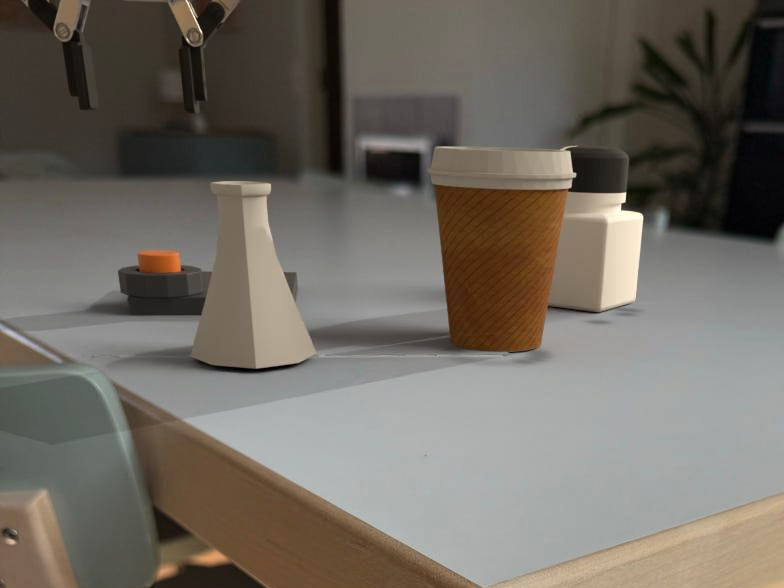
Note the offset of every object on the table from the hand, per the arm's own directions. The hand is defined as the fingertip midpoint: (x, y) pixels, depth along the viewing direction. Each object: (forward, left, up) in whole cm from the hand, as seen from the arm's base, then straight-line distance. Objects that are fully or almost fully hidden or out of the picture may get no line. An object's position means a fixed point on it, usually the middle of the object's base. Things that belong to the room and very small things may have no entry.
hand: (141, 109), depth 69 cm
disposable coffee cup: (+24, -12, -14) cm, 30 cm away
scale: (+4, +5, -14) cm, 15 cm away
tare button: (0, 0, -11) cm, 11 cm away
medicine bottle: (+34, +5, -14) cm, 37 cm away
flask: (+8, -17, -14) cm, 24 cm away
